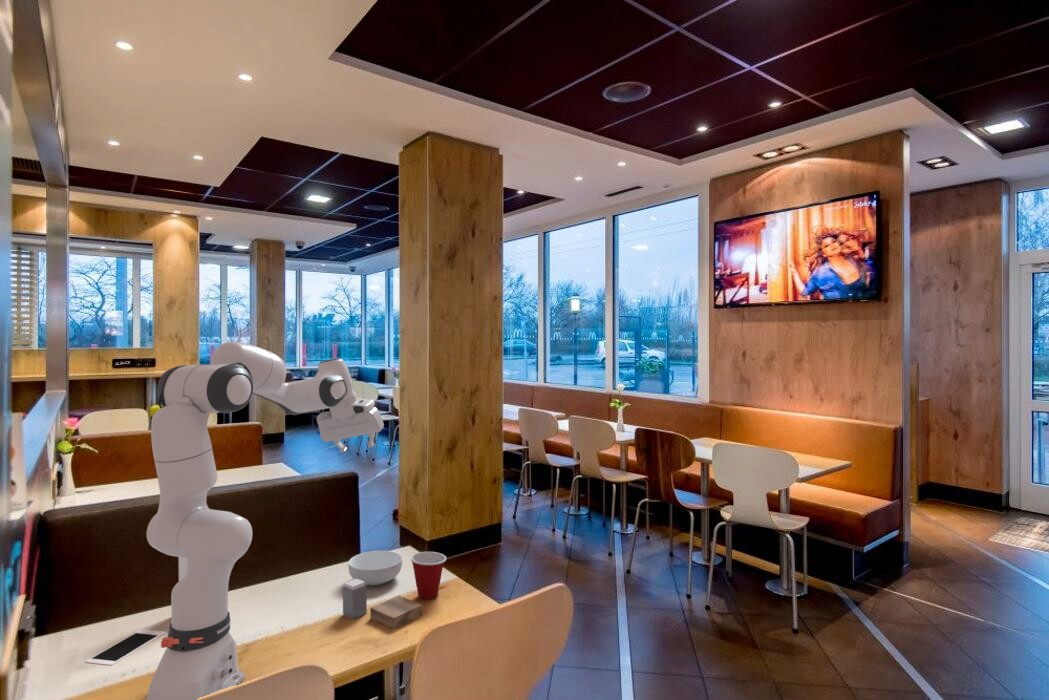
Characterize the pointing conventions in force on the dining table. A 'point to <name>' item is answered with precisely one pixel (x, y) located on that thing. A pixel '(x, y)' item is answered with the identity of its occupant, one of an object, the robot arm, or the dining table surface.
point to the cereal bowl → (375, 566)
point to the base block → (396, 612)
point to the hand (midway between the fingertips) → (357, 448)
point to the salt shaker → (354, 599)
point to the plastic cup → (428, 573)
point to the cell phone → (125, 647)
